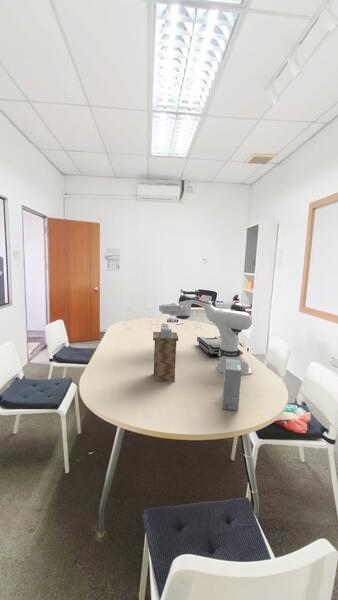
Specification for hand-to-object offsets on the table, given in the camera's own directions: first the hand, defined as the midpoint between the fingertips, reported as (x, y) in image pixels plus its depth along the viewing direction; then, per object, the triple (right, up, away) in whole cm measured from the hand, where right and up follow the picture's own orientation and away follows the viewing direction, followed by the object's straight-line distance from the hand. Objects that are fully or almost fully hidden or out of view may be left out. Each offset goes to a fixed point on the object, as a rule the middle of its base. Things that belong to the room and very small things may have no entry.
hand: (173, 307), depth 194 cm
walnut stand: (-6, -41, -28) cm, 50 cm away
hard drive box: (+27, -46, -54) cm, 76 cm away
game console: (+34, -35, +26) cm, 56 cm away
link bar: (-5, -15, -27) cm, 31 cm away
